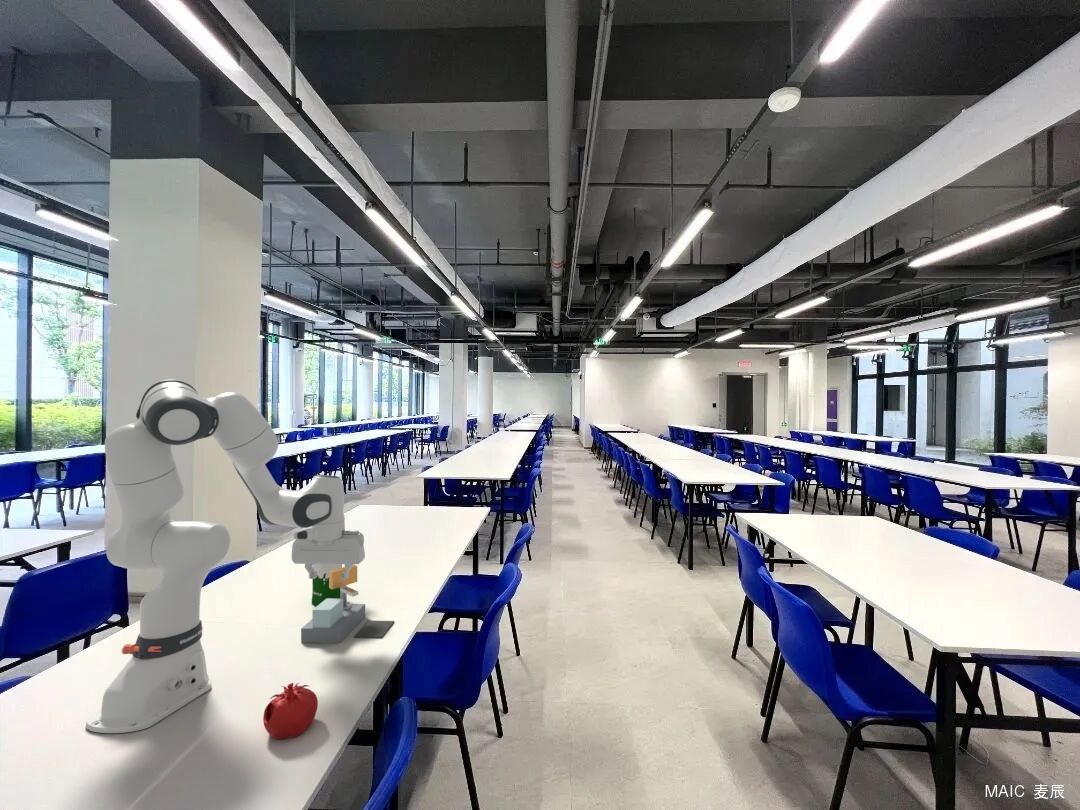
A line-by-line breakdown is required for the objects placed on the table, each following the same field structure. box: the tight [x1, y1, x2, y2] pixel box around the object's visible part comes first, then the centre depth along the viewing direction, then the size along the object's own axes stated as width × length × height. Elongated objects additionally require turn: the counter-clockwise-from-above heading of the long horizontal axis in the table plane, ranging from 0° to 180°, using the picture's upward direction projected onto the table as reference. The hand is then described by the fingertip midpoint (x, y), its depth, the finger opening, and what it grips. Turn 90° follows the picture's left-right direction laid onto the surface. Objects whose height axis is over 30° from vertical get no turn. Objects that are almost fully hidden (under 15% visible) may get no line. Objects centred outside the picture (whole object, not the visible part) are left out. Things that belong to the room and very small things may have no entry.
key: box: [329, 564, 359, 608], centre depth 145 cm, size 8×8×12 cm
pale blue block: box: [311, 598, 343, 628], centre depth 137 cm, size 8×5×5 cm, turn 177°
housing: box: [300, 602, 366, 644], centre depth 141 cm, size 17×11×4 cm, turn 177°
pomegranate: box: [262, 682, 319, 740], centre depth 98 cm, size 10×10×9 cm
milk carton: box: [311, 564, 343, 607], centre depth 161 cm, size 9×9×20 cm
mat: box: [353, 620, 395, 639], centre depth 140 cm, size 10×8×1 cm
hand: (329, 578), depth 137 cm, fingers open, 8 cm apart
